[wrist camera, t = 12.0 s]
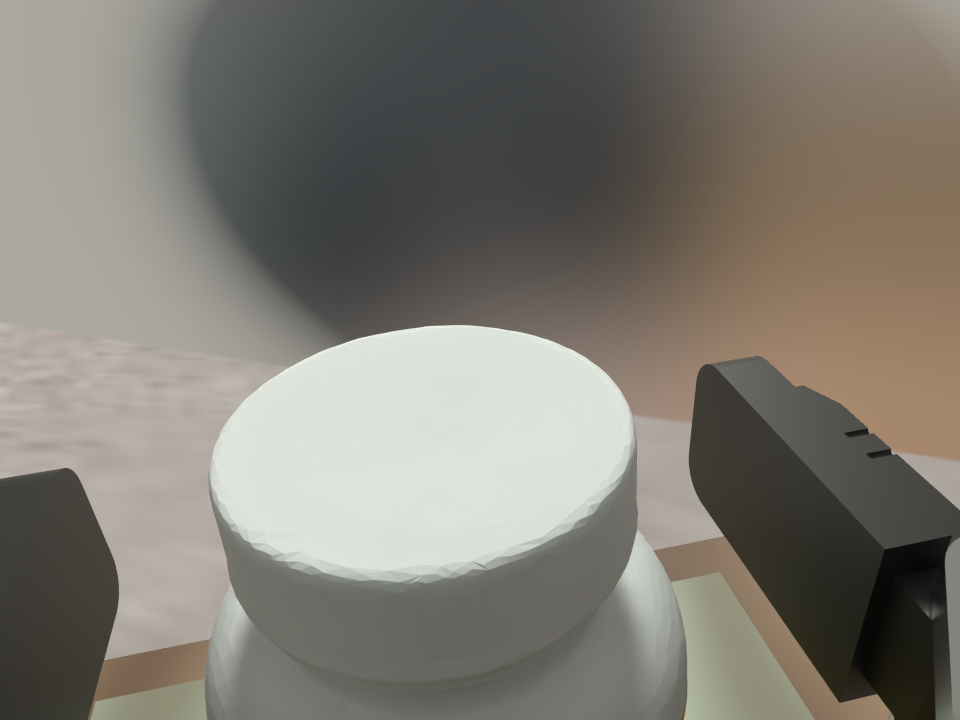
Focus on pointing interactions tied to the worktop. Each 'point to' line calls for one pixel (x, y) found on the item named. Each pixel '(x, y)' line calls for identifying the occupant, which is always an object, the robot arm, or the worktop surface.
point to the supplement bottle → (439, 540)
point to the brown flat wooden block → (709, 640)
